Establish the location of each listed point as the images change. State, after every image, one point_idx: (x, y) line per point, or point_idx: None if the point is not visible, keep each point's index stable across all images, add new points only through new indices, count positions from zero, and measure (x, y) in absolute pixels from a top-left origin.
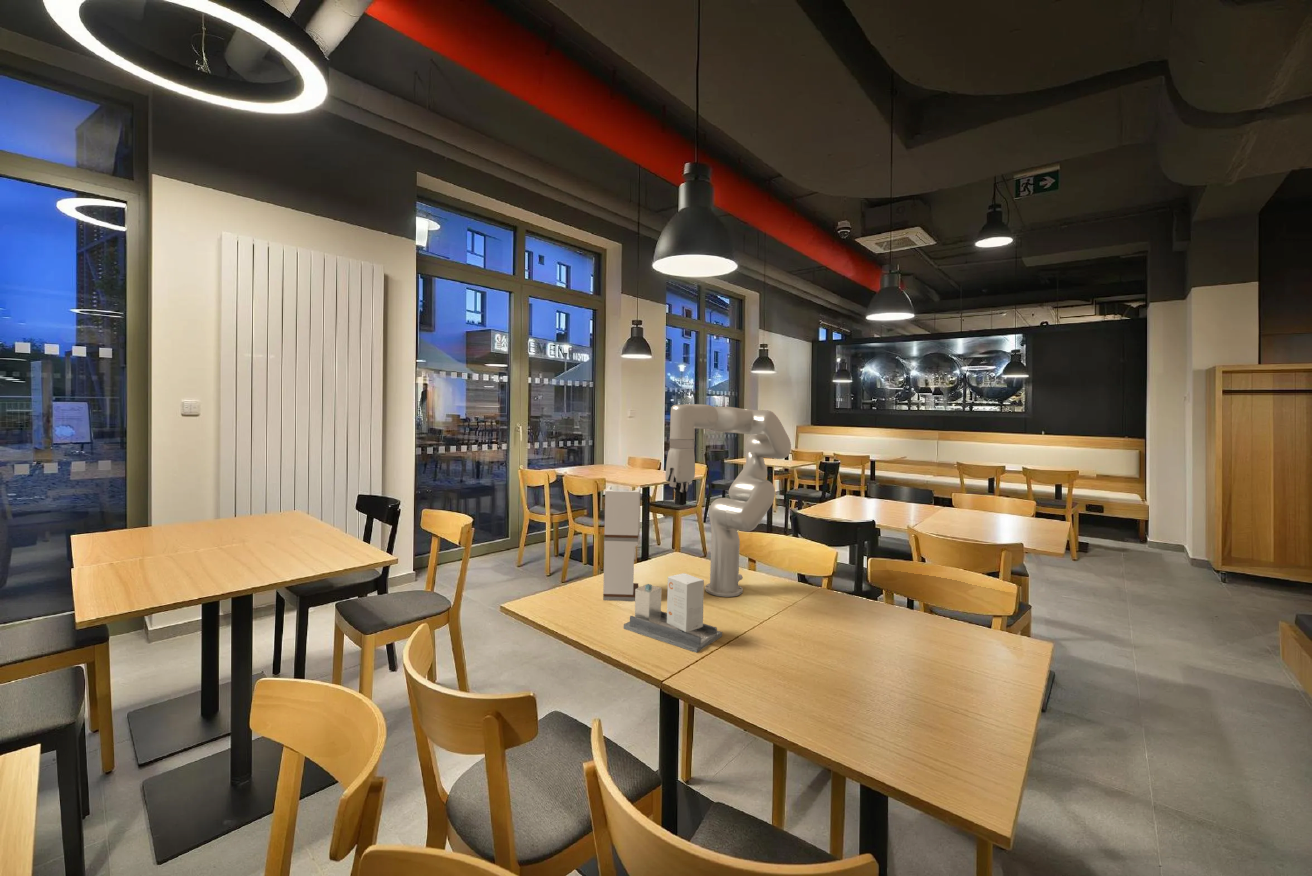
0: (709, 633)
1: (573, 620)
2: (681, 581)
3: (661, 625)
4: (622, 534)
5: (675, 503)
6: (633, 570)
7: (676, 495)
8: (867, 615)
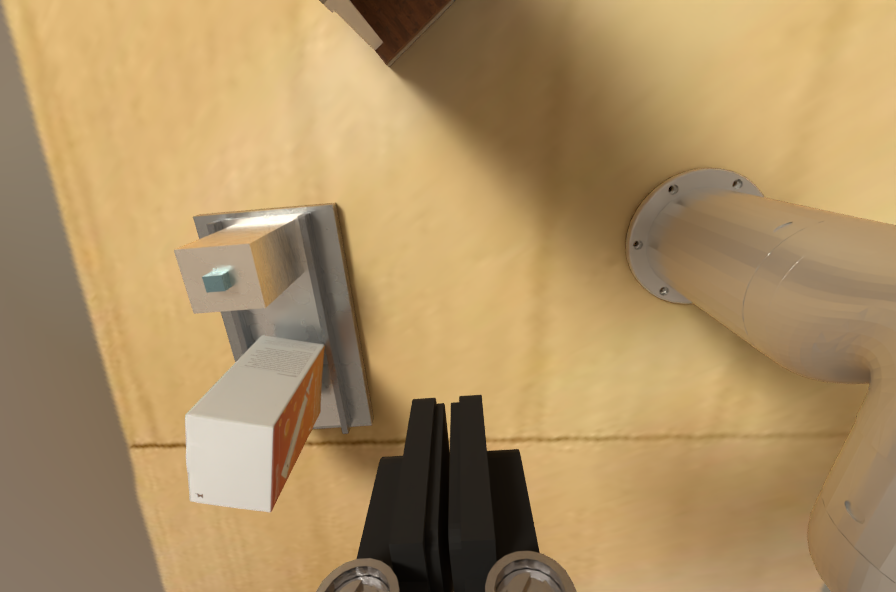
0: (334, 415)
1: (95, 40)
2: (192, 474)
3: (240, 333)
4: None
5: (413, 408)
6: (353, 27)
7: (365, 535)
8: (726, 571)
